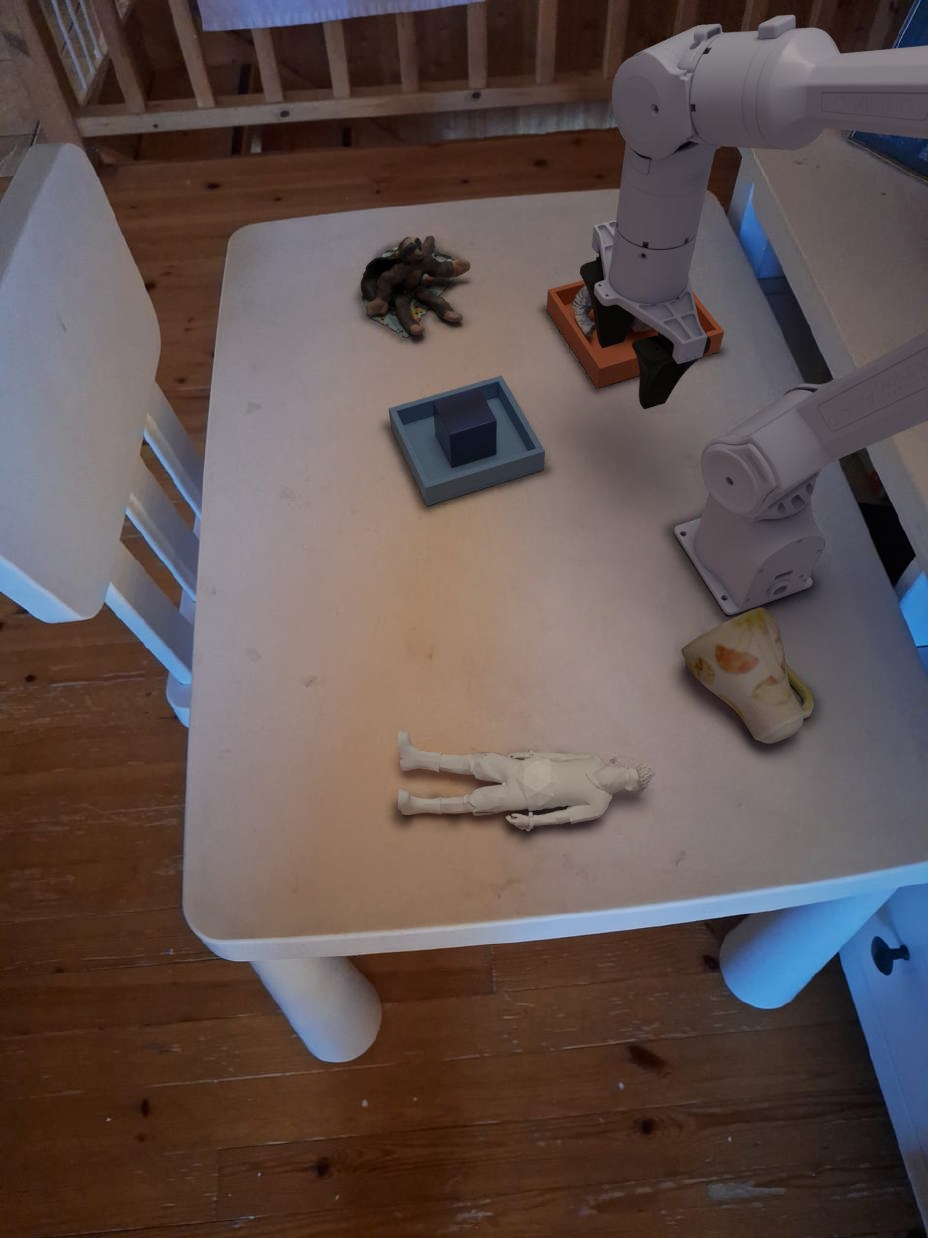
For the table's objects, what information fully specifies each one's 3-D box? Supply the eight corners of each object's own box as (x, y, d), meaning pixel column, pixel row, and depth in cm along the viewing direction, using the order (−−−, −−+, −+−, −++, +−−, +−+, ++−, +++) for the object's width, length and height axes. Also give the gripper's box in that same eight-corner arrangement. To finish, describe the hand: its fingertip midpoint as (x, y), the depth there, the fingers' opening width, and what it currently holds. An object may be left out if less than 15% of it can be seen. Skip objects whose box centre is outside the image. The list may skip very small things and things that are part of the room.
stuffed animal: (381, 342, 89) (345, 222, 88) (376, 367, 98) (343, 260, 98) (494, 312, 90) (459, 194, 90) (478, 340, 100) (446, 234, 99)
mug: (751, 779, 66) (717, 684, 60) (692, 702, 74) (658, 612, 68) (843, 732, 65) (818, 632, 60) (774, 660, 73) (746, 566, 68)
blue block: (496, 454, 82) (497, 420, 78) (451, 468, 81) (449, 434, 77) (479, 421, 84) (478, 386, 80) (435, 434, 83) (432, 400, 80)
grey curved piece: (569, 343, 90) (664, 337, 92) (584, 328, 85) (685, 323, 86) (564, 288, 90) (660, 284, 91) (579, 270, 84) (680, 266, 86)
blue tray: (543, 469, 81) (545, 450, 79) (426, 506, 80) (425, 488, 77) (501, 394, 86) (501, 374, 84) (390, 427, 85) (388, 407, 82)
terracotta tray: (719, 351, 89) (724, 331, 87) (597, 388, 87) (599, 368, 84) (661, 277, 95) (665, 256, 93) (546, 309, 93) (547, 289, 91)
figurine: (396, 728, 64) (651, 714, 63) (405, 746, 68) (646, 734, 67) (395, 826, 61) (663, 814, 60) (404, 840, 65) (658, 829, 63)
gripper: (561, 181, 66) (551, 329, 77) (653, 302, 59) (627, 446, 70) (648, 158, 67) (625, 308, 79) (749, 275, 60) (707, 421, 71)
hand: (631, 372), depth 74 cm, fingers open, 7 cm apart
